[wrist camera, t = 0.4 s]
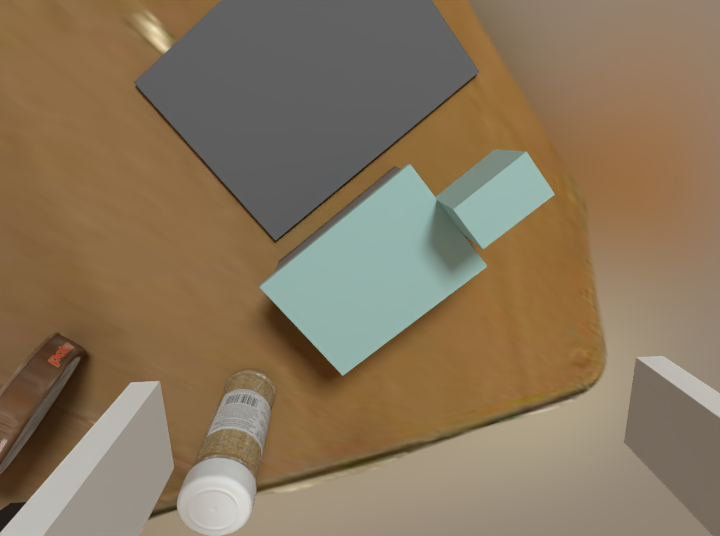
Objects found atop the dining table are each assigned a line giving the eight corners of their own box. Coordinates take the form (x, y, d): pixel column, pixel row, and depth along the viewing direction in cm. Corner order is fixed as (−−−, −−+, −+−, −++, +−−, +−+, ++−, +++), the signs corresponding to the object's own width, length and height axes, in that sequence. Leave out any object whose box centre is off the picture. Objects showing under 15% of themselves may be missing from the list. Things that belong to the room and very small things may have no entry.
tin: (72, 315, 38) (1, 364, 30) (107, 336, 38) (47, 389, 30) (-10, 443, 40) (-96, 520, 32) (23, 460, 41) (-52, 539, 33)
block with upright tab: (264, 277, 33) (248, 309, 27) (463, 113, 31) (497, 108, 24) (342, 360, 35) (344, 409, 29) (533, 214, 33) (580, 233, 26)
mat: (136, 83, 33) (133, 82, 33) (350, -119, 30) (350, -122, 30) (276, 239, 37) (275, 240, 36) (477, 72, 34) (479, 71, 34)
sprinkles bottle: (217, 402, 40) (164, 527, 28) (235, 360, 39) (189, 468, 27) (266, 419, 41) (236, 548, 28) (285, 378, 40) (263, 492, 27)
